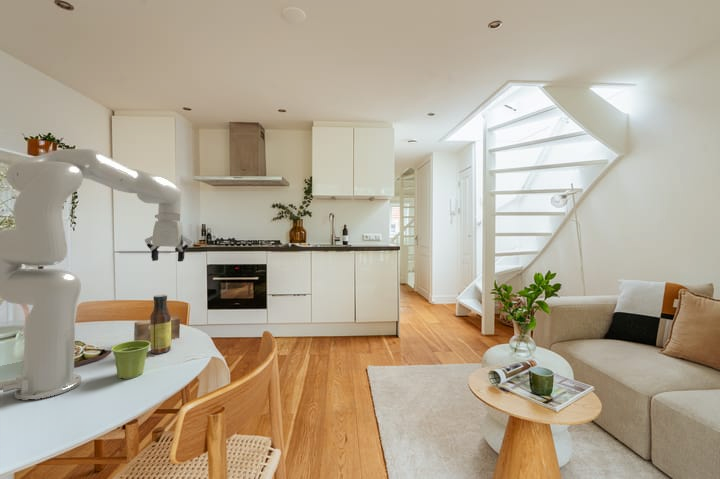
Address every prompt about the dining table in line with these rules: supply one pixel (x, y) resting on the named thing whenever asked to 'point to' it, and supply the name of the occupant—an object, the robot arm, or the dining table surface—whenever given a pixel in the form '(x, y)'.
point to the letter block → (144, 329)
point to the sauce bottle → (160, 326)
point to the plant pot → (130, 358)
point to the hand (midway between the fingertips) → (167, 260)
